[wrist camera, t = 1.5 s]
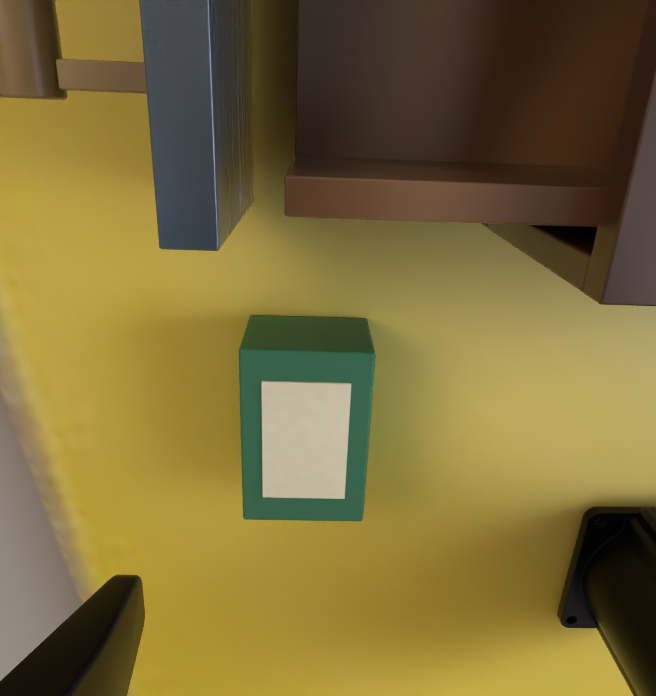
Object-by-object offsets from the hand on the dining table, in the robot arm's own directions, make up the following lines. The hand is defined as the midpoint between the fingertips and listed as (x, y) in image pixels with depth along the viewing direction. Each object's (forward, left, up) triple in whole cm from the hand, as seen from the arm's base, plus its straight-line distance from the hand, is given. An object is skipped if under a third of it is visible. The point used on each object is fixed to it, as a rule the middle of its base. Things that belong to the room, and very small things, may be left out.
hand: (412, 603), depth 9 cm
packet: (-2, +2, -12) cm, 12 cm away
